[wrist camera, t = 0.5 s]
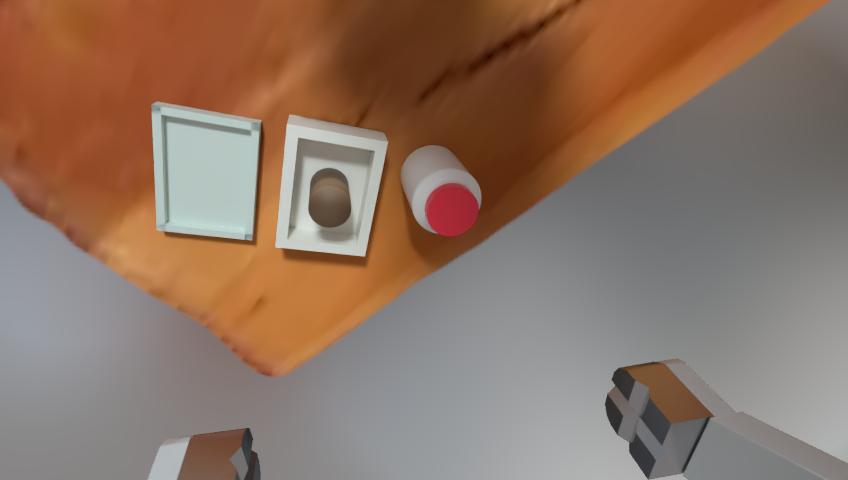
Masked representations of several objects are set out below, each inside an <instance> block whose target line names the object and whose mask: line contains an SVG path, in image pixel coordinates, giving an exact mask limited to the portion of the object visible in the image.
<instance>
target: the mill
mask: <svg viewBox="0 0 848 480" xmlns="http://www.w3.org/2000/svg"><path fill="white" fill-rule="evenodd" d="M308 211H309V215H310V217H311V218H312V220H313V221H314V222H315V223H317V224H318V225H320V226H323V227H327V228H333V227H337V226H340V225H342V224H343V223H345V222H346V221H347V220H348V218H349V217H350V214H351V201H350V193H349V185H348V180H347V178H346V176H345V175H344V174H343V173H342V172H341V171H339V170H337V169H334V168H324V169H321V170H319V171H317V172H316V173H315V174H314V175H313V177H312V179H311V182H310V193H309V205H308Z"/></svg>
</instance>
